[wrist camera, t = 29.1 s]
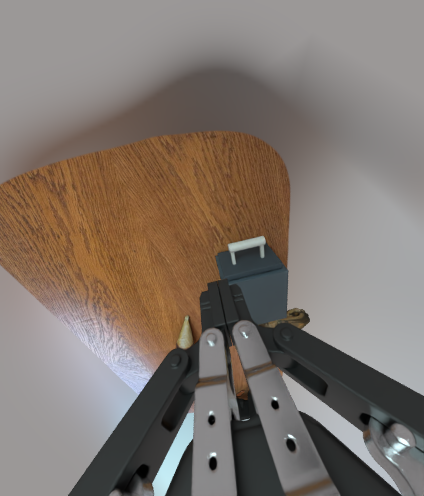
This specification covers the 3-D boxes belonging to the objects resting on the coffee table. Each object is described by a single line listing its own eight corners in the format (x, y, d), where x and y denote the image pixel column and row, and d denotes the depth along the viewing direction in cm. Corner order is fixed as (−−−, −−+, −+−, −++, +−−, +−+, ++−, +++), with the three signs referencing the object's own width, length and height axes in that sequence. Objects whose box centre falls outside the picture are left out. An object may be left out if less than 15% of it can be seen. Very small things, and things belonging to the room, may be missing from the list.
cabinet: (215, 255, 38) (222, 286, 30) (266, 243, 38) (288, 270, 30) (224, 296, 45) (233, 330, 37) (268, 286, 45) (286, 318, 37)
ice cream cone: (199, 324, 45) (196, 366, 49) (197, 309, 50) (195, 349, 55) (174, 325, 44) (174, 368, 48) (175, 310, 49) (175, 350, 54)
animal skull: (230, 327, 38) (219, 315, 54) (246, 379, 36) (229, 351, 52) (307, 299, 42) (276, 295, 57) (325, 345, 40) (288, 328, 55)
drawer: (213, 235, 35) (219, 256, 28) (264, 223, 35) (283, 241, 28) (226, 292, 43) (233, 319, 37) (267, 282, 43) (282, 307, 36)
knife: (219, 400, 80) (223, 401, 81) (219, 401, 79) (223, 403, 80) (242, 389, 76) (246, 391, 77) (242, 391, 75) (246, 393, 76)
